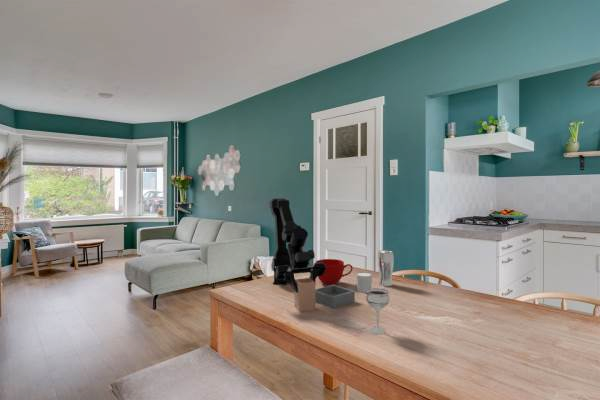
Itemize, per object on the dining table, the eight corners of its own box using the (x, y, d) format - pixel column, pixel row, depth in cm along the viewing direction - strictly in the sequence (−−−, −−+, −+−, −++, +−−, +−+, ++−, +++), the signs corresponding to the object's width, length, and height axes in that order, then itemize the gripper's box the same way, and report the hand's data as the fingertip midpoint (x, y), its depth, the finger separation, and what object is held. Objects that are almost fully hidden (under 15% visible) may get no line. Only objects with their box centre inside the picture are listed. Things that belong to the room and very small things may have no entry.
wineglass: (381, 337, 96) (381, 296, 96) (362, 330, 101) (361, 291, 101) (393, 330, 101) (393, 291, 101) (373, 324, 106) (373, 286, 105)
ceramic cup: (354, 287, 146) (354, 265, 145) (315, 287, 146) (315, 265, 146) (350, 279, 159) (350, 258, 158) (315, 279, 159) (315, 259, 159)
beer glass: (374, 283, 151) (374, 251, 151) (386, 281, 154) (386, 249, 154) (384, 287, 145) (384, 253, 145) (397, 285, 148) (397, 252, 148)
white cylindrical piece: (373, 293, 138) (373, 276, 138) (357, 293, 138) (357, 276, 138) (370, 288, 145) (370, 272, 144) (355, 288, 145) (354, 272, 145)
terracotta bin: (294, 306, 123) (294, 279, 122) (309, 304, 125) (309, 278, 124) (299, 311, 117) (299, 283, 117) (315, 309, 119) (315, 282, 118)
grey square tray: (312, 300, 129) (311, 290, 129) (333, 294, 136) (333, 284, 136) (333, 308, 120) (333, 297, 120) (354, 301, 128) (354, 291, 127)
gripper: (276, 244, 121) (284, 281, 111) (324, 241, 127) (336, 277, 116) (272, 261, 129) (279, 298, 119) (317, 257, 134) (327, 292, 124)
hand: (305, 291), depth 119 cm, fingers closed on terracotta bin, 6 cm apart
